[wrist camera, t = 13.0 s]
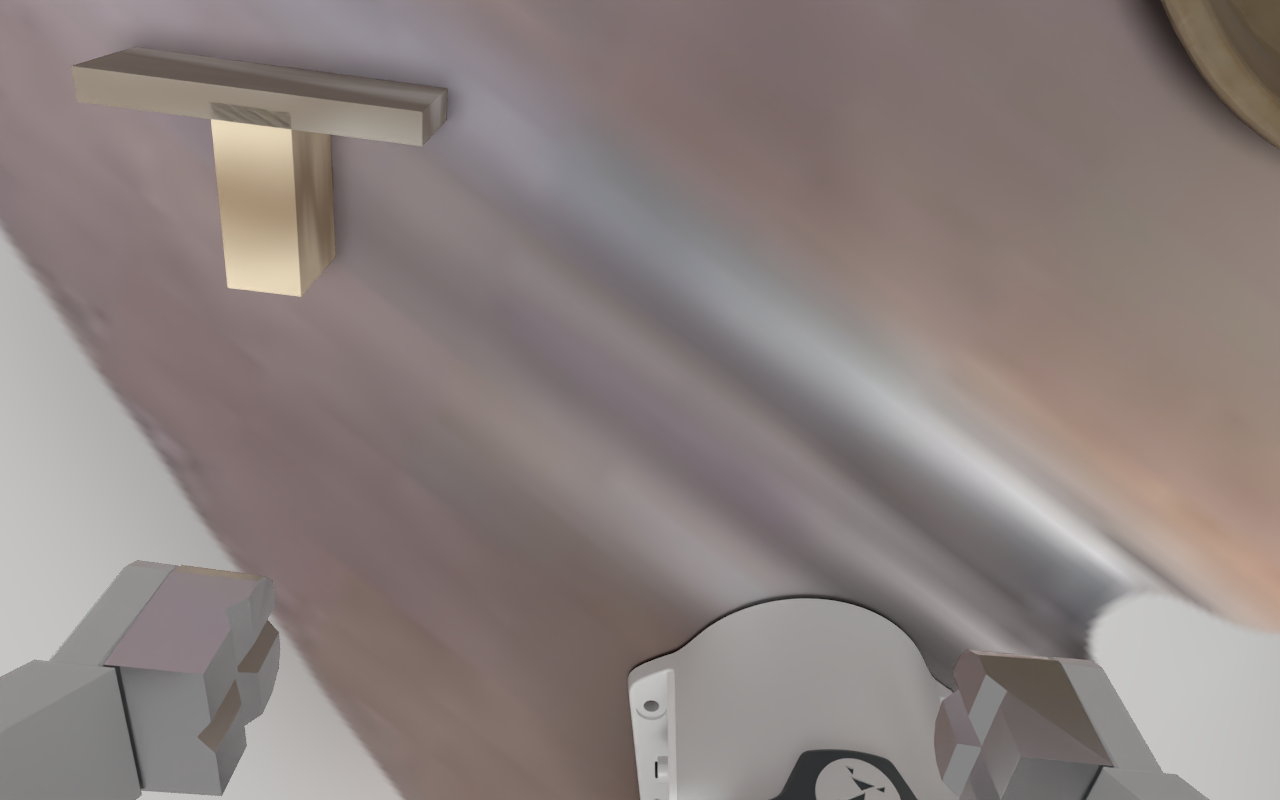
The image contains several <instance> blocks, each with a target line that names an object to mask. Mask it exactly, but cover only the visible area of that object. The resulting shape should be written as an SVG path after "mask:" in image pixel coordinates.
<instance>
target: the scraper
mask: <svg viewBox="0 0 1280 800" xmlns="http://www.w3.org/2000/svg"><path fill="white" fill-rule="evenodd" d="M71 68H72V74H73V80H74V86H75V92H76V98H77V102H82V103H90V104H98V105H106V106H113V107H121V108H129V109H136V110H144V111H152V112H160V113H167V114H175V115H183V116H191V117H198V118H206V119H211V126H212V136H213V146H214V156H215V166H216V176H217V186H218V196H219V206H220V216H221V226H222V236H223V246H224V256H225V265H226V275H227V285H228V288H234V289H242V290H251V291H259V292H267V293H275V294H284V295H292V296H300V297H301V296H302V295H303V294H304V293H305V292H306V290H307V289H308V288H309V287H310V286H311V285H312V284H313V283H314V281H315V280H316V279H317V278H318V277H319V276H320V275H321V273H322V272H323V271H324V270H325V269H326V268H327V267H328V265H329V264H330V263H331V262H332V261H333V260H334V259H335V257H336V256H335V230H334V203H333V177H332V150H331V135H338V136H345V137H353V138H361V139H369V140H376V141H384V142H392V143H400V144H407V145H415V146H423V145H424V144H425V143H426V142H427V141H428V139H429V138H430V137H431V136H432V135H433V134H434V133H435V132H436V131H437V130H438V129H439V128H440V126H441V125H442V124H443V123H444V122H445V121H446V120H447V88H439V87H432V86H424V85H417V84H409V83H402V82H394V81H387V80H379V79H372V78H364V77H357V76H349V75H342V74H334V73H326V72H319V71H311V70H304V69H296V68H289V67H281V66H274V65H266V64H259V63H251V62H244V61H236V60H228V59H221V58H213V57H206V56H198V55H191V54H183V53H176V52H168V51H161V50H153V49H146V48H138V47H133V48H130V49H126V50H123V51H120V52H116V53H113V54H110V55H106V56H103V57H100V58H96V59H93V60H90V61H86V62H83V63H79V64H76V65H73V66H71Z"/></svg>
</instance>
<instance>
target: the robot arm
mask: <svg viewBox="0 0 1280 800" xmlns="http://www.w3.org/2000/svg"><path fill="white" fill-rule="evenodd" d="M275 604H276V599H275V591H274V584H273V580H271V579H270V578H269V577H267V576H263V575H255V574H247V573H239V572H231V571H224V570H216V569H208V568H200V567H193V566H184V565H181V566H176V565H170V564H162V563H155V562H147V561H140V560H137V561H135V562H133V563H131V564H129V565H127V566H126V567H125V568H124V569H123V570H122V571H121V572H120V573H119V575H118V576H117V577H116V578H115V580H114V581H113V582H112V583H111V584H110V586H109V587H108V588H107V590H106V591H105V592H104V593H103V594H102V596H101V597H100V598H99V599H98V601H97V602H96V603H95V604H94V605H93V607H92V608H91V609H90V610H89V612H88V613H87V614H86V615H85V617H84V618H83V619H82V620H81V621H80V623H79V624H78V625H77V627H76V628H75V629H74V630H73V631H72V633H71V634H70V635H69V636H68V638H67V639H66V640H65V641H64V643H63V644H62V645H61V646H60V647H59V649H58V650H57V651H56V652H55V654H54V655H53V656H52V657H51V659H50V660H49V661H41V660H33V661H31V662H29V663H27V664H26V665H23V666H21V667H20V668H17V669H15V670H13V671H11V672H9V673H7V674H5V675H3V676H1V677H0V800H136V799H137V798H139V797H140V796H141V791H156V792H171V793H187V794H201V795H215V796H216V795H217V796H222V794H223V792H224V790H225V788H226V786H227V784H228V782H229V780H230V778H231V776H232V774H233V772H234V770H235V768H236V766H237V764H238V762H239V760H240V758H241V756H242V754H243V752H244V750H245V748H246V736H245V728H244V726H245V725H246V724H248V723H249V722H251V721H252V720H254V719H255V718H257V717H258V716H260V715H261V714H262V713H263V711H264V709H265V707H266V705H267V703H268V700H269V698H270V696H271V694H272V691H273V687H274V683H275V680H276V676H277V672H278V669H279V657H280V640H279V632H278V631H277V630H276V629H275V628H274V626H272V624H271V623H270V622H269V621H268V620H267V619H268V617H269V615H270V614H271V612H272V610H273V608H274V606H275ZM953 675H954V678H955V681H956V683H957V686H958V690H957V691H955V692H954V693H953V692H952V691H951V690H949V689H948V688H946V687H945V686H944V685H942V684H941V683H939V682H938V681H936V680H935V679H934V678H933V676H932V675H931V673H930V672H929V670H928V668H927V666H926V664H925V662H924V660H923V657H922V655H921V653H920V652H919V650H918V648H917V647H916V645H915V644H914V643H913V641H912V640H911V639H910V638H909V637H908V636H907V635H906V634H905V633H904V632H903V631H902V630H901V629H900V628H898V627H897V626H896V625H895V624H893V623H892V622H890V621H889V620H887V619H885V618H884V617H882V616H880V615H878V614H876V613H874V612H872V611H869V610H867V609H864V608H862V607H858V606H855V605H852V604H848V603H844V602H839V601H833V600H826V599H808V598H802V599H786V600H779V601H772V602H767V603H763V604H759V605H755V606H752V607H749V608H746V609H743V610H740V611H738V612H735V613H733V614H731V615H729V616H727V617H725V618H723V619H721V620H719V621H717V622H716V623H714V624H713V625H711V626H709V627H708V628H707V629H705V630H704V631H703V632H701V633H700V634H699V635H698V636H697V637H695V638H694V639H693V640H692V641H691V642H689V643H688V644H687V645H686V646H684V647H683V648H681V649H680V650H678V651H676V652H675V653H672V654H669V655H666V656H663V657H660V658H657V659H654V660H652V661H649V662H647V663H644V664H642V665H640V666H638V667H637V668H635V669H634V670H633V671H632V672H631V673H630V674H629V677H628V691H629V701H630V710H631V719H632V728H633V737H634V746H635V755H636V765H637V774H638V783H639V792H640V800H1209V799H1207V798H1206V797H1205V796H1204V795H1202V794H1201V793H1200V792H1198V791H1197V790H1196V789H1194V788H1193V787H1192V786H1191V785H1189V784H1188V783H1187V782H1185V781H1184V780H1183V779H1181V778H1180V777H1179V776H1178V775H1175V774H1166V773H1163V772H1162V770H1161V768H1160V767H1159V765H1158V763H1157V762H1156V760H1155V758H1154V756H1153V754H1152V753H1151V751H1150V749H1149V747H1148V746H1147V744H1146V742H1145V741H1144V739H1143V737H1142V736H1141V734H1140V732H1139V730H1138V729H1137V727H1136V725H1135V723H1134V722H1133V720H1132V718H1131V717H1130V715H1129V713H1128V711H1127V710H1126V708H1125V706H1124V705H1123V703H1122V701H1121V699H1120V698H1119V696H1118V694H1117V692H1116V691H1115V689H1114V687H1113V686H1112V684H1111V682H1110V680H1109V679H1108V677H1107V675H1106V674H1105V672H1104V670H1103V669H1102V667H1100V666H1099V665H1098V664H1097V663H1095V662H1094V661H1092V660H1081V659H1070V658H1058V657H1050V658H1047V657H1041V656H1030V655H1020V654H1010V653H999V652H989V651H979V650H968V649H967V650H966V651H965V652H964V653H963V654H962V655H961V656H960V657H959V659H958V662H957V664H956V667H955V669H954V672H953ZM650 700H651V701H650Z"/></svg>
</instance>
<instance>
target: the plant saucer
mask: <svg viewBox="0 0 1280 800" xmlns="http://www.w3.org/2000/svg"><path fill="white" fill-rule="evenodd" d="M1160 1H1161V3H1162V5H1163V7H1164V10H1165V12H1166V14H1167V16H1168V19H1169V21H1170V23H1171V26H1172V28H1173V29H1174V31H1175V33H1176V35H1177V36H1178V38H1179V40H1180V42H1181V44H1182V45H1183V47H1184V49H1185V51H1186V52H1187V54H1188V56H1189V57H1190V59H1191V61H1192V62H1193V64H1194V66H1195V67H1196V68H1197V70H1198V71H1199V73H1200V74H1201V75H1202V77H1203V78H1204V79H1205V81H1206V82H1207V84H1208V85H1209V86H1210V88H1211V89H1212V90H1213V91H1214V92H1215V93H1216V94H1217V96H1218V97H1219V98H1220V99H1221V100H1222V101H1223V102H1224V103H1225V104H1226V106H1227V107H1228V108H1229V109H1230V110H1231V111H1232V112H1233V113H1234V114H1235V115H1236V116H1237V117H1238V118H1239V119H1241V120H1242V121H1243V122H1244V123H1245V124H1246V125H1248V126H1249V127H1250V128H1251V129H1252V130H1253V131H1255V132H1256V133H1257V134H1258V135H1259V136H1261V137H1262V138H1263V139H1265V140H1266V141H1268V142H1269V143H1271V144H1272V145H1274V146H1275V147H1277V148H1278V149H1280V0H1160Z"/></svg>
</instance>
